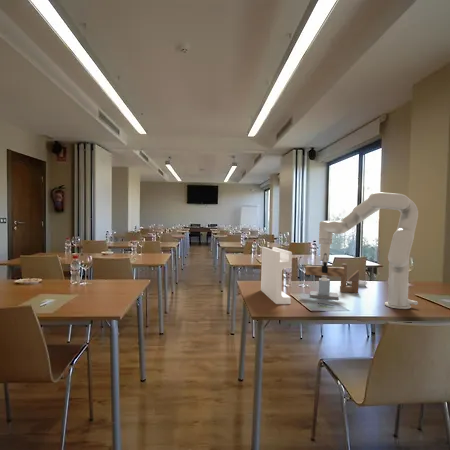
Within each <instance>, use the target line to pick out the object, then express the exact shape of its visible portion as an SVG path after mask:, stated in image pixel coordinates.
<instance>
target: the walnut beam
mask: <svg viewBox="0 0 450 450" xmlns="http://www.w3.org/2000/svg"><path fill="white" fill-rule="evenodd" d="M305 275H307V276H321V277H322V276H327V277H337V278H341V277H344V267H341V266H328V273H322V265H305Z"/></svg>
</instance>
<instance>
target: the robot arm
mask: <svg viewBox="0 0 450 450" xmlns="http://www.w3.org/2000/svg"><path fill="white" fill-rule="evenodd" d="M380 209H384V210H394V211H398V212H399V214H400V216H399V219H398V224H397V228H396V231H394V233H393V235H392V238H391V242H390V247H389V250H388V254H387V260H388V263H389V265H388V285H387V286H388V287H387V288H388V291H387V301H385V302H384V306H386V307H388V308H393V309H397V310H409V309H411V308H412V305H414V306H416V305H419V302H418V301H417V300H411V299H409V298H408V297H409V275H410V274H409V273H410V272H409V271H410V254H411V251H412V246H413V243H414V240H415V234H416V233H415V232H416V229H417V223H418V220H419V209H418V207H417V205H416V203H415V202H414V201H413V200H412V199H410V198H409V197H408V196H407V195H406V194H402V193H392V192H381V191H380V192H379V191H375V192H373V193H371V194H369V196H368V198H367V199H366V200H365V199H364V201H362V202H361V203H359V204H358V205H356V206H355V207H354V208H353V210H352V211H350V213H349V214H348V215H346V216H345V217H344V218H342V219H341V220H335V221H330V220H321V221H320V222H319V223H318V224H319V228H318V229H319V232H318V244H319V245H320V246H319V248H320V249H319V252H320V253H319V260H320V261H321V262H322V264H321V266H322V273H328V267H329V265H328V262H329V260H330V254H331V253H330V252H331V251H330V249H331V246H332V245H333V234H337V235H339V234H345V233H347V232H349V231H350V230H351V229H353V228H354V227H355V226H357V225H359V224H360V223H362V222H363V221H365V220H366V219H367V218H369V217H371V215H374V214H375V213H376V212H378V211H379V210H380Z"/></svg>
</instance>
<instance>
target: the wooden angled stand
mask: <svg viewBox="0 0 450 450" xmlns="http://www.w3.org/2000/svg"><path fill="white" fill-rule="evenodd" d="M340 267H344V277H340V285H339V291H340V293H353V294H358V293H359V286H360V285H359V282H360V278H359V277H360V270H359V269H357V270H356V271H355V272H353V274H351V275H350V276H348V264H347V263H341V264H340ZM347 282H351V285H348V283H347Z"/></svg>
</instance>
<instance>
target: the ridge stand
mask: <svg viewBox="0 0 450 450" xmlns="http://www.w3.org/2000/svg"><path fill="white" fill-rule="evenodd" d="M330 280H331V279H330V278H328V276H321V278H320V277H319V278H318V291H314V290H310V292H309V298H311V299H312V298H314V299H325V300H335V301H336V300H340V299H339V294H338V292H332V291H331V292H330V290H331V289H330V288H331V287H330V286H331V283H330V282H331V281H330Z"/></svg>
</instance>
